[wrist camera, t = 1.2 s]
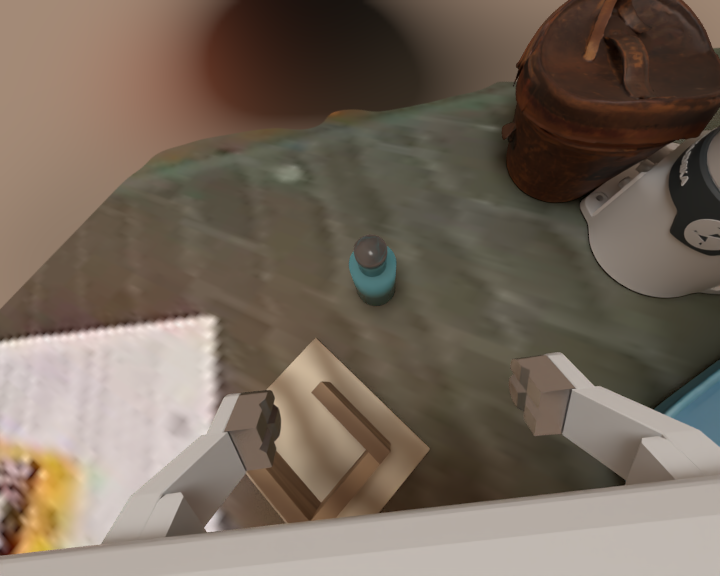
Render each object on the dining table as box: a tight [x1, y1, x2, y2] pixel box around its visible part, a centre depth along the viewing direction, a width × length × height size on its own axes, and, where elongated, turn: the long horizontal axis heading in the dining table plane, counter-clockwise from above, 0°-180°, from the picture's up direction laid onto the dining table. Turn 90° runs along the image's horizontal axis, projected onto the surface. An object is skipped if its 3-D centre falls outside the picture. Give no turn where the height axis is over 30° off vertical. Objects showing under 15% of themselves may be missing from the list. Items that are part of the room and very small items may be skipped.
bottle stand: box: [246, 338, 430, 524], centre depth 34 cm, size 16×18×6 cm
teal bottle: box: [349, 235, 396, 306], centre depth 36 cm, size 5×5×12 cm
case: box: [502, 0, 720, 202], centre depth 36 cm, size 18×20×18 cm
